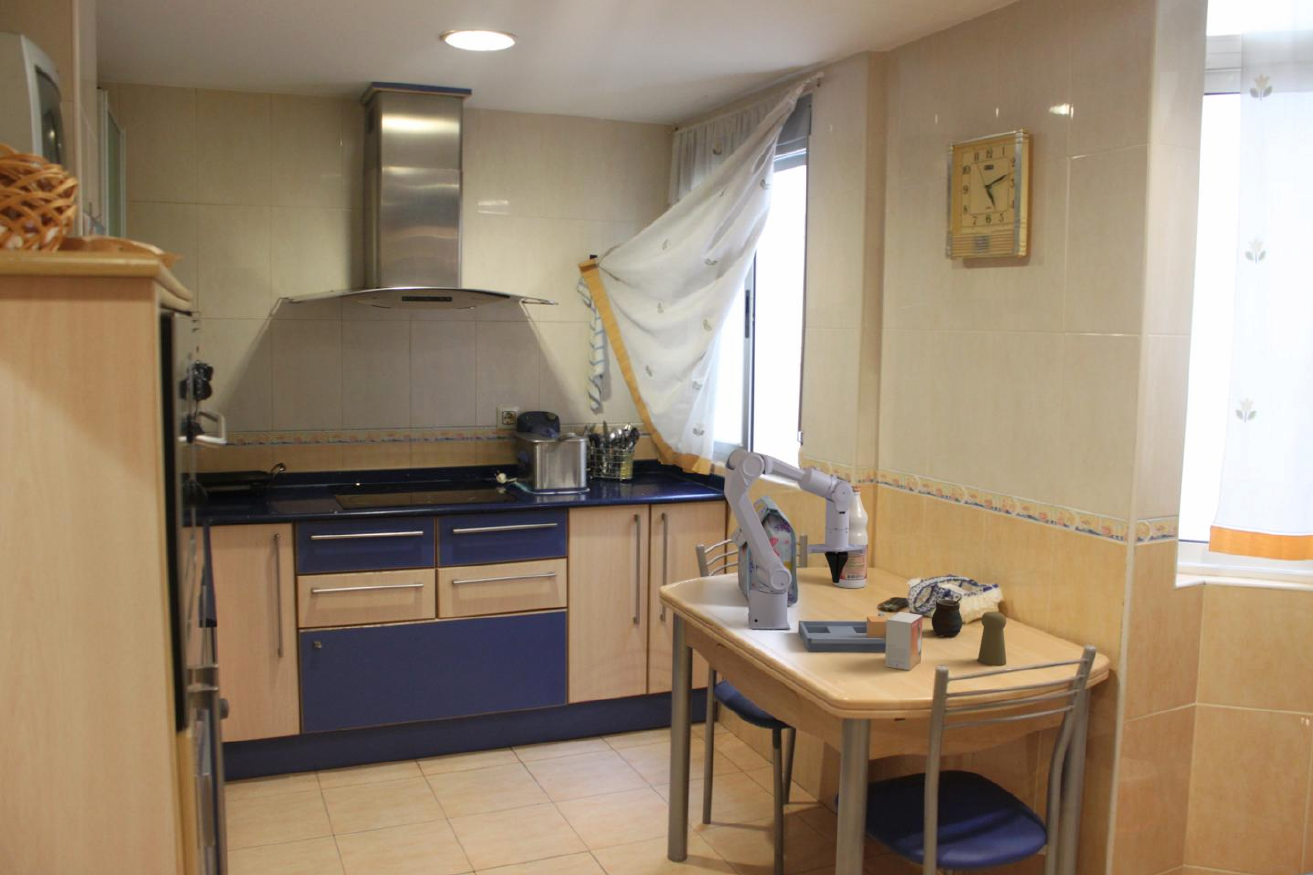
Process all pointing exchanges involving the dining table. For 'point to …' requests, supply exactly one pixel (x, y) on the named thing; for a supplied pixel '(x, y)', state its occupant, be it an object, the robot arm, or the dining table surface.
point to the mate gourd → (947, 618)
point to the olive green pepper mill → (992, 640)
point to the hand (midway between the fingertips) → (835, 582)
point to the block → (876, 626)
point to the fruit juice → (857, 562)
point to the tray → (839, 636)
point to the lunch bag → (780, 540)
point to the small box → (903, 640)
